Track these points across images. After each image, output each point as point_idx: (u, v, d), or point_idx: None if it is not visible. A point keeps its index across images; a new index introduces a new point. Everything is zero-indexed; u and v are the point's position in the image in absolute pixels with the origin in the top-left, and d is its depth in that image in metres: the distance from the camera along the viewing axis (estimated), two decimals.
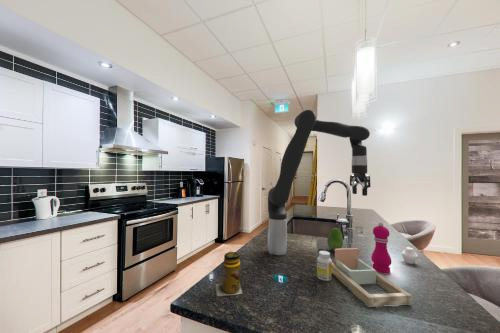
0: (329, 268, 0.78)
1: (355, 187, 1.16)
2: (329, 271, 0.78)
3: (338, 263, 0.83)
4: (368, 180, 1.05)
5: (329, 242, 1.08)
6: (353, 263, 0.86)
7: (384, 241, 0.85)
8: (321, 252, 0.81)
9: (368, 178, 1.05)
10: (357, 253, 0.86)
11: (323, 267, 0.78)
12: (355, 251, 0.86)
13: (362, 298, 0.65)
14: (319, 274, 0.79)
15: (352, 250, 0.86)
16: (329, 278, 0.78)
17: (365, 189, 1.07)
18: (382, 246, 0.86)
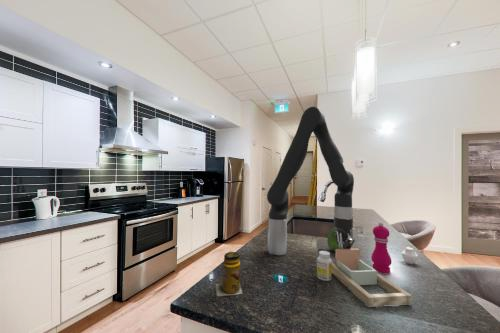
0: (329, 268, 0.78)
1: None
2: (329, 271, 0.78)
3: (339, 264, 0.83)
4: (350, 244, 0.85)
5: (329, 242, 1.08)
6: (354, 264, 0.85)
7: (384, 241, 0.85)
8: (321, 252, 0.81)
9: (351, 243, 0.84)
10: (358, 253, 0.86)
11: (323, 267, 0.78)
12: (356, 251, 0.86)
13: (362, 298, 0.65)
14: (319, 274, 0.79)
15: (353, 251, 0.86)
16: (329, 278, 0.78)
17: None
18: (382, 246, 0.86)
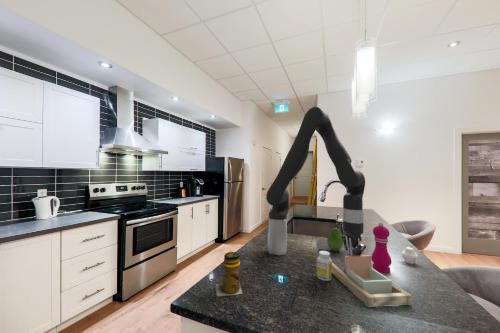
0: (329, 268, 0.78)
1: None
2: (329, 271, 0.78)
3: (349, 272, 0.76)
4: (361, 250, 0.78)
5: (329, 242, 1.08)
6: (365, 271, 0.79)
7: (384, 241, 0.85)
8: (321, 252, 0.81)
9: (362, 249, 0.77)
10: (369, 260, 0.79)
11: (323, 267, 0.78)
12: (367, 258, 0.79)
13: (362, 298, 0.65)
14: (319, 274, 0.79)
15: (364, 258, 0.79)
16: (329, 278, 0.78)
17: None
18: (382, 246, 0.86)
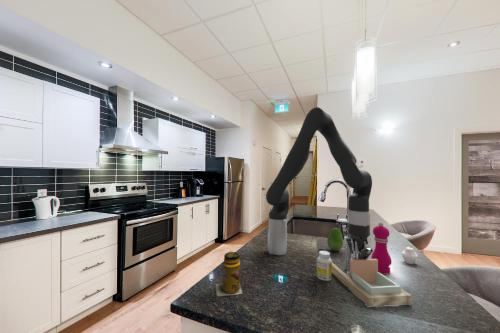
0: (329, 268, 0.78)
1: None
2: (329, 271, 0.78)
3: (355, 277, 0.72)
4: (367, 254, 0.74)
5: (329, 242, 1.08)
6: (371, 276, 0.75)
7: (384, 241, 0.85)
8: (321, 252, 0.81)
9: (369, 253, 0.74)
10: (376, 265, 0.75)
11: (323, 267, 0.78)
12: (374, 262, 0.75)
13: (362, 298, 0.65)
14: (319, 274, 0.79)
15: (370, 262, 0.75)
16: (329, 278, 0.78)
17: None
18: (382, 246, 0.86)
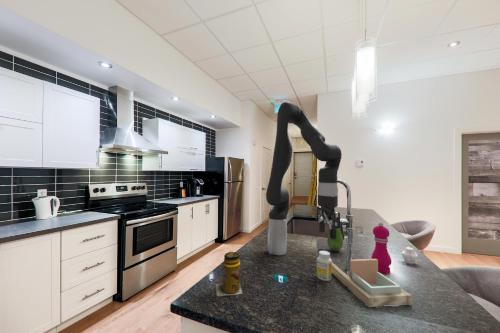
0: (329, 268, 0.78)
1: (323, 223, 0.86)
2: (329, 271, 0.78)
3: (355, 277, 0.72)
4: (337, 219, 0.75)
5: (329, 242, 1.08)
6: (371, 276, 0.75)
7: (384, 241, 0.85)
8: (321, 252, 0.81)
9: (337, 216, 0.75)
10: (376, 265, 0.75)
11: (323, 267, 0.78)
12: (374, 262, 0.75)
13: (362, 298, 0.65)
14: (319, 274, 0.79)
15: (370, 262, 0.75)
16: (329, 278, 0.78)
17: (333, 231, 0.76)
18: (382, 246, 0.86)
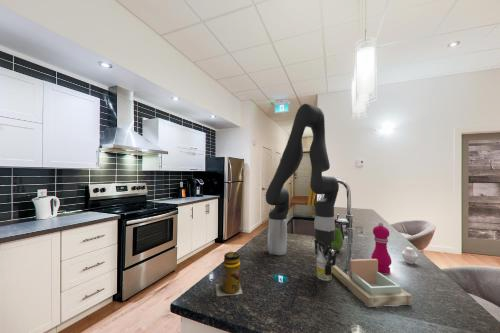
0: None
1: None
2: None
3: (355, 277, 0.72)
4: (333, 257, 0.74)
5: None
6: (371, 276, 0.75)
7: (384, 241, 0.85)
8: (321, 252, 0.81)
9: (333, 255, 0.74)
10: (376, 265, 0.75)
11: (323, 267, 0.78)
12: (374, 262, 0.75)
13: (362, 298, 0.65)
14: (319, 274, 0.79)
15: (370, 262, 0.75)
16: (329, 278, 0.78)
17: (328, 267, 0.76)
18: (382, 246, 0.86)
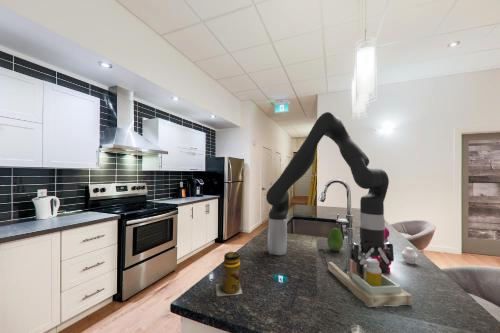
0: (367, 276, 0.70)
1: (383, 263, 0.71)
2: (366, 279, 0.70)
3: (355, 277, 0.72)
4: (353, 251, 0.70)
5: (329, 242, 1.08)
6: None
7: (384, 241, 0.85)
8: (370, 259, 0.72)
9: (353, 248, 0.70)
10: None
11: None
12: None
13: (362, 298, 0.65)
14: None
15: None
16: None
17: (357, 264, 0.71)
18: None
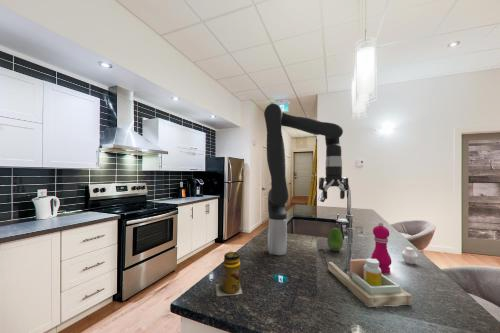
0: (366, 276, 0.70)
1: (341, 191, 1.02)
2: (366, 279, 0.70)
3: (355, 276, 0.73)
4: (320, 182, 1.01)
5: (329, 242, 1.08)
6: None
7: (384, 241, 0.85)
8: (370, 259, 0.73)
9: (320, 180, 1.01)
10: None
11: (363, 272, 0.72)
12: None
13: (362, 298, 0.65)
14: None
15: None
16: None
17: (323, 192, 1.01)
18: (382, 246, 0.86)
